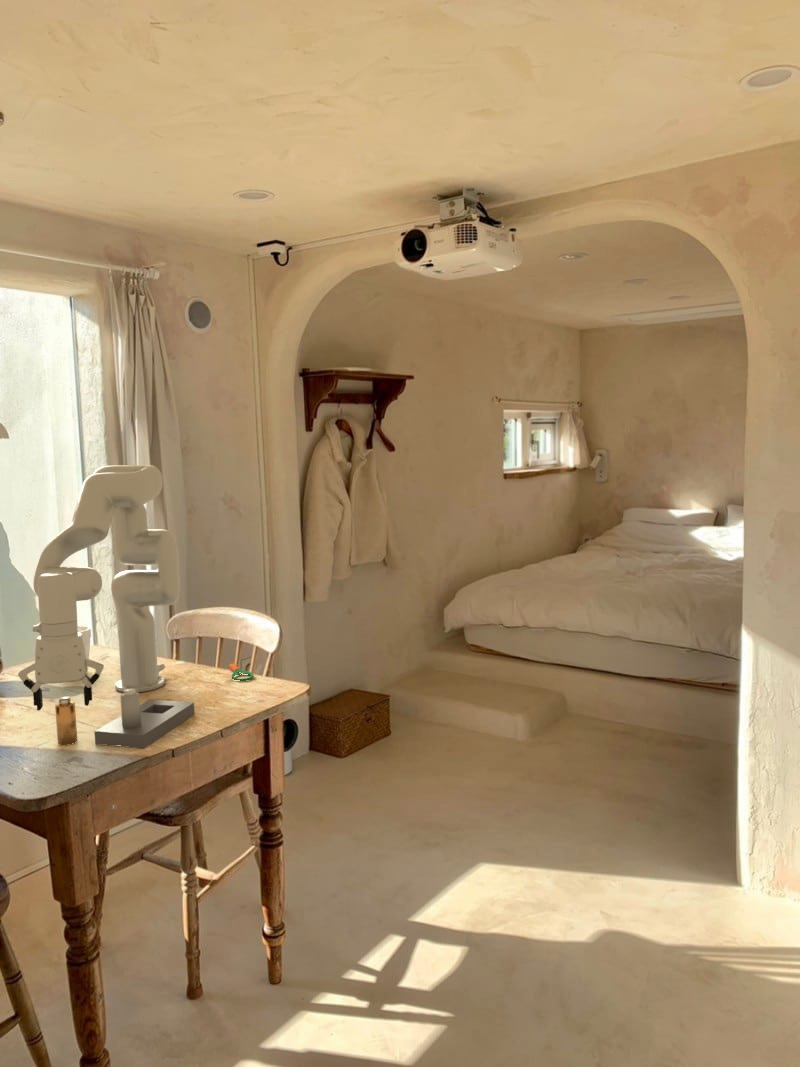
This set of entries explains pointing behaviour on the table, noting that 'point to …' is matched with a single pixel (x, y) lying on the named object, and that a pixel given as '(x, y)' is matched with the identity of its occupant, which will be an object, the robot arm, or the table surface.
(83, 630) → the foam cup
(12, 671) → the table surface
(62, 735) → the amber bottle
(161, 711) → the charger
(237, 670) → the magnifying glass
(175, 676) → the table surface
